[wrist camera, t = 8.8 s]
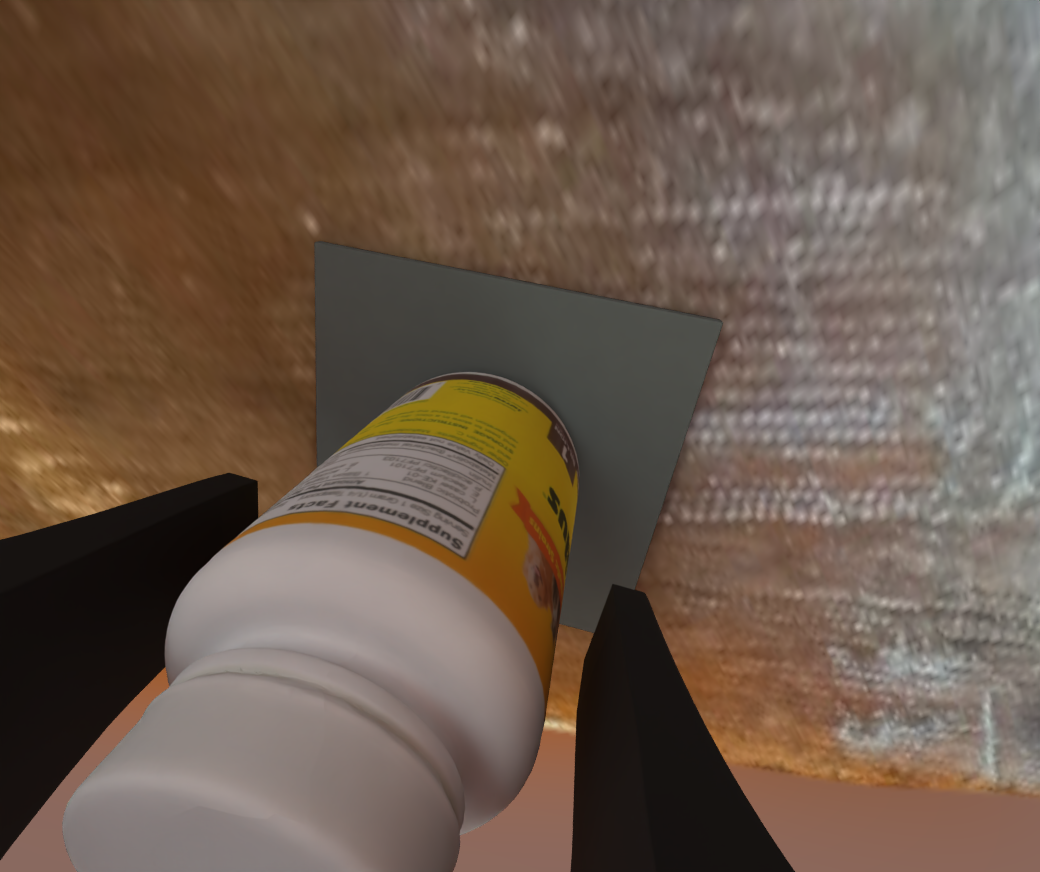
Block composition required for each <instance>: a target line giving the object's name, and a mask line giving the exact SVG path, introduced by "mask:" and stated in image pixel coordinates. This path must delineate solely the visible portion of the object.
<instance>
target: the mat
mask: <svg viewBox="0 0 1040 872" xmlns="http://www.w3.org/2000/svg"><path fill="white" fill-rule="evenodd" d="M722 325H723V322H722V321H721V320H719V319H714V318H709V317H704V316H699V315H694V314H688V313H683V312H678V311H673V310H668V309H663V308H658V307H653V306H648V305H643V304H638V303H632V302H627V301H622V300H617V299H612V298H607V297H602V296H597V295H592V294H587V293H582V292H576V291H571V290H566V289H561V288H556V287H551V286H546V285H541V284H536V283H531V282H526V281H520V280H515V279H510V278H505V277H500V276H495V275H490V274H485V273H480V272H475V271H470V270H464V269H459V268H454V267H449V266H444V265H439V264H434V263H429V262H424V261H419V260H414V259H408V258H403V257H398V256H393V255H388V254H383V253H378V252H373V251H368V250H363V249H358V248H352V247H347V246H342V245H337V244H332V243H327V242H322V241H319V242H315V330H316V423H317V467H318V466H320V465H321V464H322V463H324V462H325V461H326V460H327V459H328V458H330V457H331V456H332V455H333V454H334V453H335V452H337V451H338V450H339V449H340V448H341V447H342V446H343V445H345V444H346V443H347V442H348V441H349V440H350V439H352V438H353V437H354V436H355V435H357V434H358V433H359V432H360V431H361V430H362V429H364V428H365V427H366V426H367V425H368V424H369V423H370V422H372V421H373V420H374V419H376V418H377V417H378V416H379V415H380V414H381V413H382V412H384V411H385V410H386V409H388V408H389V407H390V406H391V405H392V404H393V403H395V402H396V401H397V400H398V399H400V398H401V397H402V396H403V395H404V394H406V393H407V392H408V391H410V390H411V389H413V388H414V387H416V386H417V385H419V384H421V383H423V382H425V381H427V380H430V379H432V378H435V377H438V376H441V375H445V374H450V373H459V372H477V373H485V374H491V375H495V376H499V377H503V378H505V379H508V380H510V381H513V382H515V383H517V384H519V385H521V386H523V387H525V388H526V389H528V390H530V391H531V392H533V393H534V394H535V395H537V396H538V397H539V398H541V399H542V400H543V401H544V402H545V403H546V404H547V405H548V406H549V407H550V408H551V409H552V410H553V411H554V412H555V413H556V414H557V416H558V417H559V418H560V420H561V421H562V423H563V424H564V426H565V428H566V430H567V431H568V433H569V435H570V438H571V440H572V442H573V445H574V448H575V451H576V455H577V459H578V466H579V491H578V499H577V506H576V513H575V521H574V528H573V534H572V541H571V548H570V554H569V560H568V567H567V573H566V579H565V586H564V594H563V600H562V608H561V614H560V621H559V624H562V625H566V626H570V627H574V628H577V629H581V630H585V631H589V632H593V633H594V632H595V629H596V627H597V624H598V621H599V619H600V616H601V613H602V611H603V608H604V605H605V602H606V600H607V597H608V594H609V592H610V589H611V586H612V584H616V585H619V586H623V587H626V588H630V589H633V590H635V587H636V584H637V581H638V578H639V575H640V572H641V569H642V566H643V563H644V560H645V557H646V554H647V551H648V548H649V545H650V542H651V539H652V536H653V533H654V530H655V527H656V524H657V521H658V518H659V515H660V512H661V509H662V506H663V503H664V500H665V497H666V494H667V491H668V488H669V484H670V481H671V478H672V475H673V472H674V469H675V466H676V463H677V460H678V457H679V454H680V451H681V448H682V445H683V442H684V439H685V436H686V433H687V430H688V427H689V424H690V421H691V418H692V415H693V412H694V409H695V406H696V403H697V400H698V397H699V394H700V391H701V388H702V385H703V382H704V379H705V376H706V373H707V370H708V367H709V364H710V361H711V358H712V355H713V352H714V349H715V346H716V343H717V340H718V337H719V334H720V331H721V328H722Z"/></svg>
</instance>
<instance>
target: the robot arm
mask: <svg viewBox="0 0 1040 872" xmlns="http://www.w3.org/2000/svg"><path fill="white" fill-rule="evenodd" d="M257 519H258V481H256V480H253V479H249V478H246V477H242V476H239V475H235V474H232V473H226V474H222V475H218V476H214V477H211V478H207V479H204V480H200V481H197V482H194V483H191V484H187V485H184V486H181V487H178V488H175V489H171V490H168V491H165V492H162V493H159V494H156V495H153V496H149V497H146V498H143V499H140V500H137V501H134V502H130V503H127V504H124V505H121V506H118V507H115V508H111V509H108V510H105V511H102V512H99V513H95V514H92V515H88V516H85V517H81V518H78V519H74V520H71V521H67V522H64V523H60V524H57V525H53V526H50V527H46V528H43V529H39V530H36V531H32V532H29V533H25V534H21V535H18V536H14V537H10V538H6V539H2V540H0V860H1V859H2V857H3V856H4V855H5V853H6V852H7V851H8V849H9V848H10V846H11V845H12V844H13V843H14V841H15V840H16V839H17V838H18V836H19V835H20V834H21V833H22V831H23V830H24V829H25V828H26V826H27V825H28V824H29V823H30V821H31V820H32V819H33V817H34V816H35V815H36V814H37V812H38V811H39V810H40V809H41V807H42V806H43V805H44V804H45V802H46V801H47V800H48V799H49V797H50V796H51V795H52V793H53V792H54V791H55V790H56V788H57V787H58V786H59V785H60V783H61V782H62V781H63V780H64V779H65V777H66V776H67V775H68V774H69V772H70V771H71V770H72V769H73V768H74V767H75V765H76V764H77V763H78V762H79V760H80V759H81V758H82V757H83V756H84V755H85V753H86V752H87V751H88V750H89V748H90V747H91V746H92V745H93V744H94V742H95V741H96V740H97V739H98V738H99V737H100V735H101V734H102V733H103V732H104V731H105V729H106V728H107V727H108V726H109V725H110V724H111V723H112V721H113V720H114V719H115V718H116V717H117V716H118V715H119V714H120V713H121V712H122V711H123V710H124V708H125V707H126V706H127V705H128V704H129V703H130V702H131V701H132V700H133V699H134V698H135V697H136V696H137V695H138V694H139V693H140V692H141V691H142V690H143V689H144V688H145V687H146V686H147V685H148V684H149V683H150V682H151V681H152V680H153V679H154V678H155V677H156V676H157V674H158V673H160V672H161V671H162V670H163V669H164V668H165V639H166V634H167V629H168V624H169V620H170V617H171V614H172V611H173V609H174V607H175V604H176V602H177V600H178V598H179V596H180V595H181V593H182V591H183V590H184V589H185V587H186V586H187V584H188V583H189V581H190V580H191V579H192V578H193V577H194V575H195V574H196V573H197V572H198V571H199V570H200V569H201V568H202V567H203V566H204V565H206V564H207V563H208V562H209V561H210V560H211V559H212V557H213V556H214V555H216V554H217V553H218V552H219V551H220V550H221V549H223V548H224V547H225V546H226V545H227V544H228V543H230V542H231V541H232V540H233V539H235V538H236V537H237V536H238V535H239V534H240V533H242V532H243V531H244V530H245V529H246V528H247V527H249V526H250V525H251V524H252V523H253V522H254V521H255V520H257ZM575 750H576V751H575V777H574V778H575V779H574V809H573V811H574V812H573V841H572V860H571V872H795V871H794V870H793V868H792V867H791V865H790V864H789V863H788V861H787V860H786V859H785V857H784V855H783V854H782V852H781V851H780V849H779V848H778V847H777V845H776V843H775V842H774V840H773V839H772V837H771V836H770V835H769V833H768V831H767V830H766V828H765V827H764V825H763V823H762V822H761V820H760V819H759V817H758V815H757V814H756V812H755V811H754V809H753V807H752V806H751V804H750V803H749V801H748V799H747V798H746V796H745V795H744V793H743V791H742V790H741V788H740V786H739V785H738V783H737V781H736V779H735V778H734V776H733V774H732V773H731V771H730V769H729V767H728V766H727V764H726V762H725V760H724V759H723V757H722V755H721V753H720V751H719V749H718V748H717V746H716V744H715V742H714V740H713V738H712V737H711V735H710V733H709V731H708V729H707V727H706V725H705V724H704V722H703V720H702V718H701V716H700V714H699V712H698V710H697V708H696V706H695V704H694V702H693V700H692V698H691V696H690V694H689V691H688V689H687V687H686V685H685V683H684V681H683V679H682V677H681V675H680V673H679V671H678V668H677V666H676V664H675V662H674V660H673V657H672V655H671V653H670V651H669V648H668V646H667V644H666V641H665V639H664V637H663V634H662V632H661V630H660V627H659V625H658V622H657V620H656V617H655V615H654V612H653V610H652V607H651V605H650V602H649V600H648V598H647V596H646V594H645V593H644V592H640V591H637V590H633V589H630V588H626V587H623V586H619V585H616V584H612V586H611V589H610V592H609V594H608V597H607V600H606V602H605V605H604V608H603V611H602V613H601V616H600V619H599V621H598V624H597V627H596V629H595V632H594V635H593V638H592V640H591V643H590V646H589V648H588V651H587V654H586V656H585V659H584V665H583V672H582V679H581V686H580V693H579V700H578V708H577V720H576V748H575Z"/></svg>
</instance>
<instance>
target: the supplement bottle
mask: <svg viewBox="0 0 1040 872" xmlns="http://www.w3.org/2000/svg"><path fill="white" fill-rule="evenodd" d="M578 491H579V466H578V459H577V455H576V451H575V448H574V445H573V442H572V440H571V438H570V435H569V433H568V431H567V430H566V428H565V426H564V424H563V423H562V421H561V420H560V418H559V417H558V416H557V414H556V413H555V412H554V411H553V410H552V409H551V408H550V407H549V406H548V405H547V404H546V403H545V402H544V401H543V400H542V399H541V398H539V397H538V396H537V395H535V394H534V393H533V392H531V391H530V390H528V389H526V388H525V387H523V386H521V385H519V384H517V383H515V382H513V381H510V380H508V379H505V378H503V377H499V376H495V375H491V374H485V373H477V372H459V373H450V374H445V375H441V376H438V377H435V378H432V379H430V380H427V381H425V382H423V383H421V384H419V385H417V386H416V387H414V388H413V389H411V390H410V391H408V392H407V393H406V394H404V395H403V396H402V397H401V398H400V399H398V400H397V401H396V402H395V403H393V404H392V405H391V406H390V407H389V408H388V409H386V410H385V411H384V412H382V413H381V414H380V415H379V416H378V417H377V418H376V419H374V420H373V421H372V422H370V423H369V424H368V425H367V426H366V427H365V428H364V429H362V430H361V431H360V432H359V433H358V434H357V435H355V436H354V437H353V438H352V439H350V440H349V441H348V442H347V443H346V444H345V445H343V446H342V447H341V448H340V449H339V450H338V451H337V452H335V453H334V454H333V455H332V456H331V457H330V458H328V459H327V460H326V461H325V462H324V463H322V464H321V465H320V466H318V467H317V468H316V469H315V470H314V471H313V472H312V473H311V474H310V475H309V476H307V477H306V478H305V479H304V480H303V481H302V482H300V483H299V484H298V485H297V486H296V487H294V488H293V489H292V490H291V491H290V492H289V493H287V494H286V495H285V496H284V497H283V498H281V499H280V500H279V501H278V502H277V503H276V504H274V505H273V506H272V507H271V508H270V509H269V510H267V511H266V512H265V513H264V514H263V515H262V516H260V517H259V518H258V519H257V520H255V521H254V522H253V523H252V524H251V525H250V526H249V527H247V528H246V529H245V530H244V531H243V532H242V533H240V534H239V535H238V536H237V537H236V538H235V539H233V540H232V541H231V542H230V543H228V544H227V545H226V546H225V547H224V548H223V549H221V550H220V551H219V552H218V553H217V554H216V555H214V556H213V557H212V559H211V560H210V561H209V562H208V563H207V564H206V565H204V566H203V567H202V568H201V569H200V570H199V571H198V572H197V573H196V574H195V575H194V577H193V578H192V579H191V580H190V581H189V583H188V584H187V586H186V587H185V589H184V590H183V591H182V593H181V595H180V596H179V598H178V600H177V602H176V604H175V607H174V609H173V611H172V614H171V617H170V620H169V624H168V629H167V634H166V639H165V667H166V671H167V677H168V683H169V686H170V687H169V688H168V689H167V690H165V691H164V692H162V693H161V694H160V695H159V696H157V697H156V698H155V699H154V700H153V701H152V702H151V703H150V704H149V706H148V707H147V709H146V710H145V712H144V714H143V716H142V718H141V720H139V722H138V723H137V724H136V725H135V726H134V727H133V728H132V729H131V730H130V731H129V733H128V734H127V735H126V736H125V737H124V738H123V739H122V740H121V742H119V744H118V745H117V746H116V747H115V748H114V749H113V750H112V751H111V752H110V754H108V756H107V757H106V758H105V759H104V760H103V761H102V762H101V763H100V764H99V765H98V766H97V767H96V768H95V770H94V771H93V772H92V773H91V774H90V775H89V776H88V777H87V778H86V780H85V781H84V782H83V783H82V784H81V785H80V786H79V787H78V789H77V790H76V791H75V792H74V794H73V796H72V797H71V799H70V800H69V802H68V803H67V806H66V810H65V813H64V817H63V838H64V842H65V846H66V850H67V853H68V855H69V858H70V860H71V862H72V864H73V865H74V867H75V869H76V871H77V872H453V870H454V867H455V865H456V862H457V858H458V854H459V848H460V835H463V834H466V833H468V832H470V831H472V830H474V829H476V828H478V827H480V826H482V825H484V824H485V823H487V822H489V821H490V820H491V819H493V818H494V817H495V816H497V815H498V814H499V813H500V812H501V811H503V810H504V809H505V808H506V807H507V806H508V805H509V804H510V803H511V802H512V801H513V800H514V798H515V797H516V796H517V794H518V793H519V792H520V790H521V788H522V787H523V786H524V784H525V781H526V780H527V778H528V776H529V775H530V773H531V771H532V768H533V766H534V763H535V760H536V757H537V753H538V750H539V746H540V740H541V735H542V731H543V727H544V722H545V716H546V708H547V701H548V694H549V688H550V681H551V674H552V667H553V660H554V653H555V646H556V640H557V633H558V627H559V621H560V614H561V608H562V600H563V594H564V586H565V579H566V573H567V567H568V560H569V554H570V548H571V541H572V534H573V528H574V521H575V513H576V506H577V499H578Z"/></svg>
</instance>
